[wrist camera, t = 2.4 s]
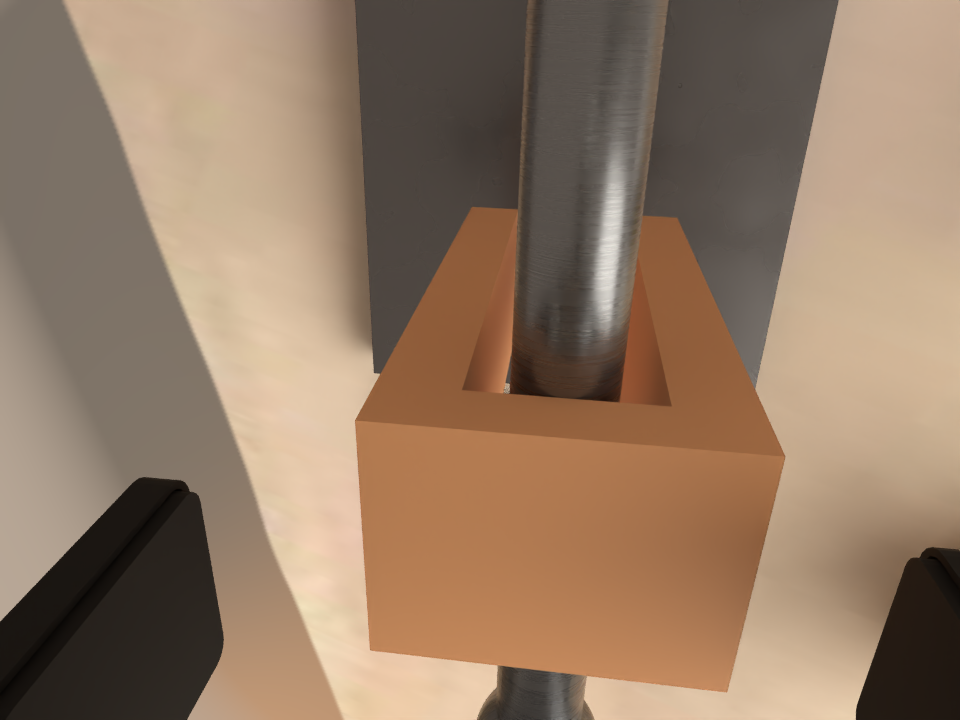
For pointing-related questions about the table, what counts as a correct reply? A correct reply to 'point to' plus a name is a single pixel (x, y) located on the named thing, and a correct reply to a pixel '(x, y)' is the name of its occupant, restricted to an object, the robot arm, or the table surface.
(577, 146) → the hanger stand
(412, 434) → the hook link
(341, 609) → the table surface
